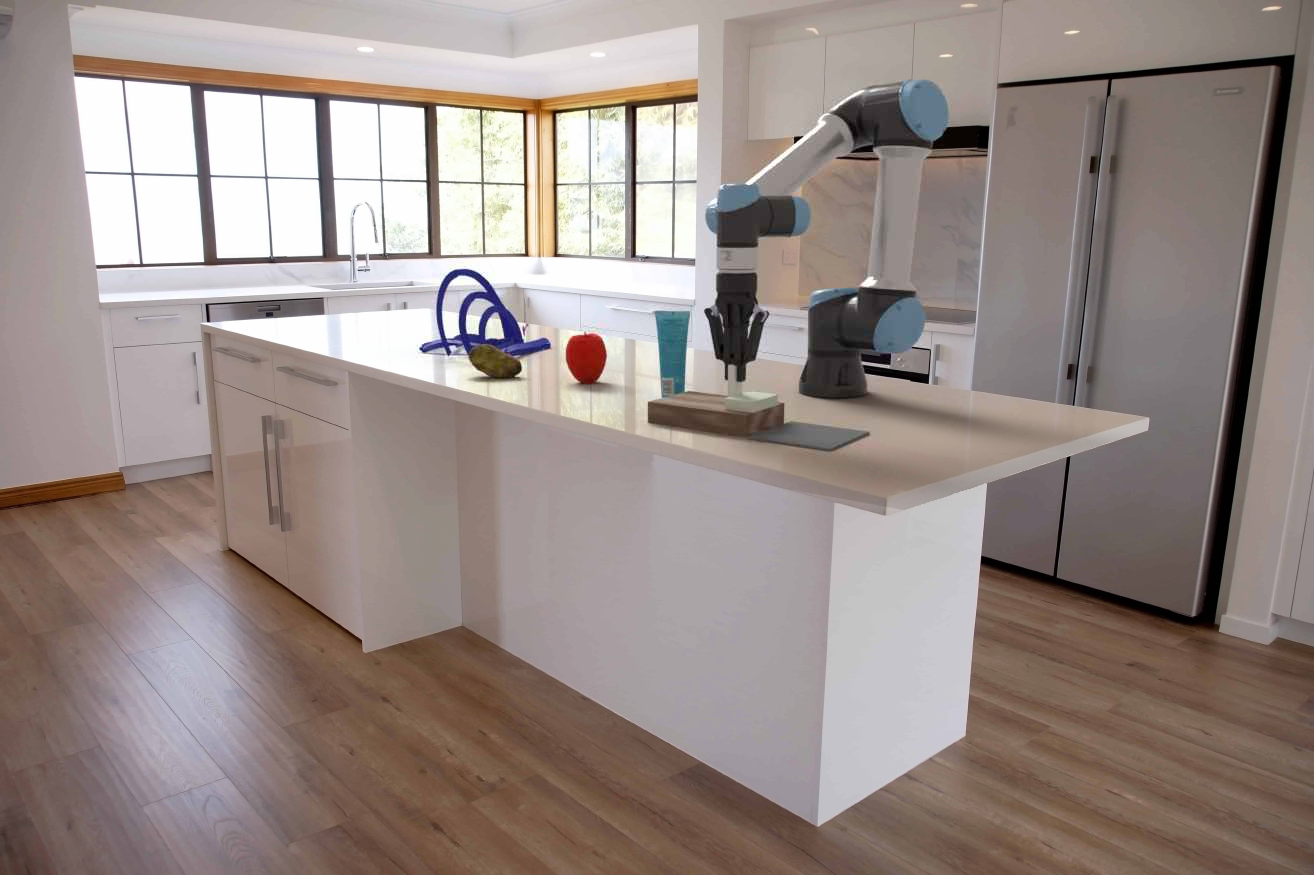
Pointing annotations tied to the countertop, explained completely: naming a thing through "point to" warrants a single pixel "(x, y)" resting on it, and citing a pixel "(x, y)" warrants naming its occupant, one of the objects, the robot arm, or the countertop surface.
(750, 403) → the pale green block
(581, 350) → the apple
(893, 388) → the countertop surface
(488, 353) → the potato
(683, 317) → the tube
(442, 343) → the sculpture
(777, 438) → the mat
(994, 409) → the countertop surface
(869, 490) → the countertop surface
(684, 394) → the board
